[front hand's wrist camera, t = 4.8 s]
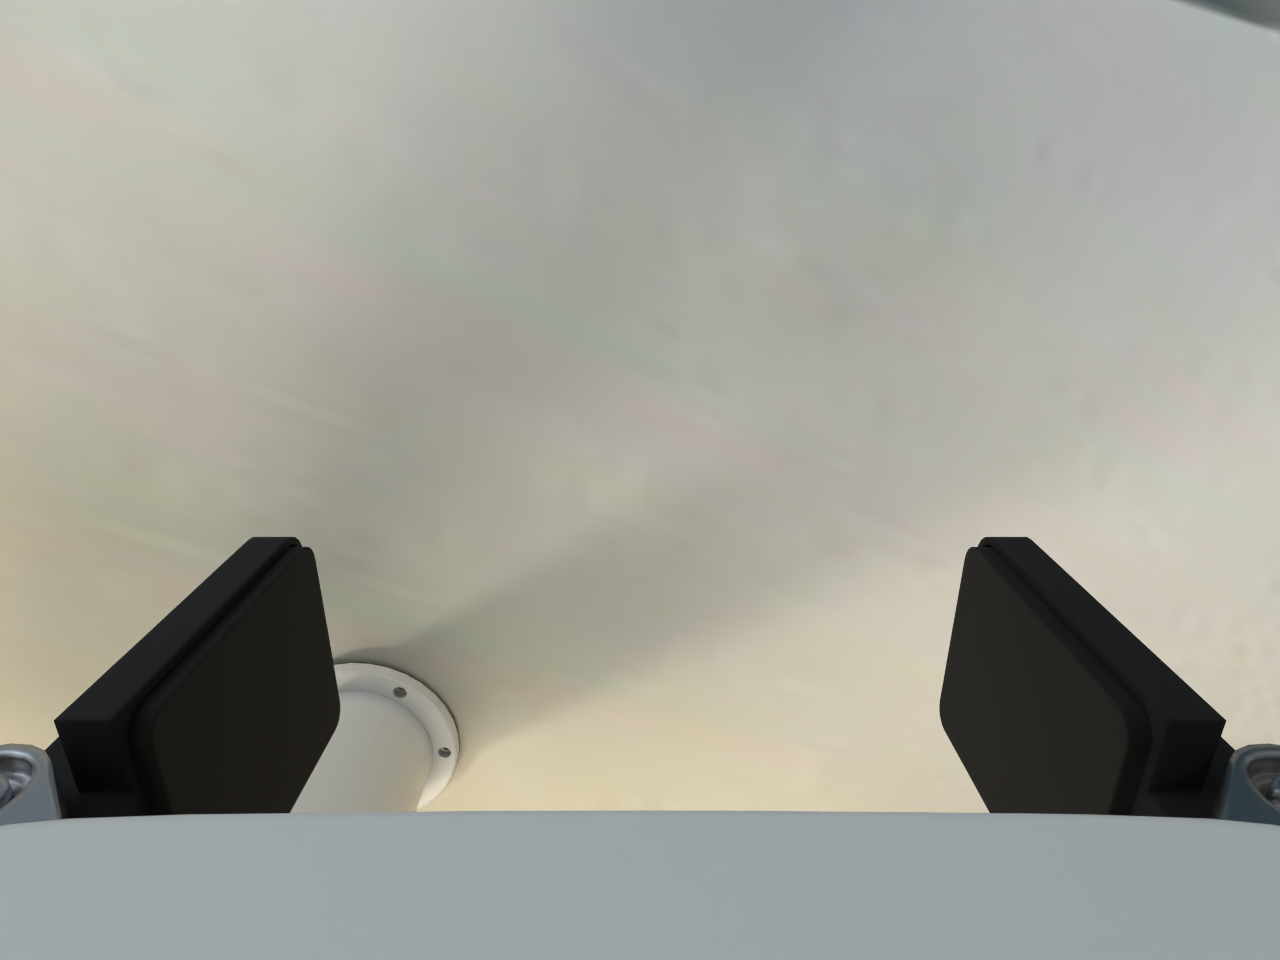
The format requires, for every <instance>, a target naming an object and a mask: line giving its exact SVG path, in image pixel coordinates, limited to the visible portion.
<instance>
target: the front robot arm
mask: <svg viewBox="0 0 1280 960" xmlns="http://www.w3.org/2000/svg"><path fill="white" fill-rule="evenodd" d="M940 717H941V722H942V726H943V728H944V730H945V732H946V734H947V736H948V737H949V739H950V741H951V743H952V745H953V747H954V748H955V750H956V752H957V754H958V756H959V757H960V759H961V761H962V763H963V765H964V767H965V768H966V770H967V772H968V774H969V776H970V777H971V779H972V781H973V783H974V785H975V787H976V788H977V790H978V792H979V794H980V796H981V797H982V799H983V801H984V803H985V805H986V807H987V808H988V810H989V812H990V813H915V812H804V811H450V812H416V810H418V809H421V808H423V807H425V806H426V805H428V804H429V803H430V802H432V801H433V800H435V799H436V798H437V797H438V796H439V795H440V794H441V793H442V791H443V790H444V789H445V788H446V787H447V785H448V783H449V781H450V779H451V778H452V776H453V773H454V770H455V767H456V763H457V760H458V753H459V740H458V732H457V729H456V726H455V723H454V720H453V718H452V717H451V715H450V713H449V711H448V710H447V708H446V706H445V705H444V704H443V703H442V702H441V701H440V699H439V698H438V697H437V696H436V695H435V694H434V693H433V692H432V691H430V690H429V689H428V688H427V687H425V686H424V685H423V684H422V683H420V682H419V681H417V680H415V679H413V678H411V677H410V676H408V675H406V674H404V673H401V672H398V671H396V670H393V669H390V668H388V667H383V666H378V665H373V664H364V663H346V664H337V665H334V664H333V658H332V652H331V647H330V641H329V635H328V630H327V624H326V618H325V612H324V607H323V601H322V595H321V590H320V584H319V578H318V572H317V567H316V561H315V557H314V553H313V551H312V549H310V548H309V547H302V545H301V543H300V541H299V540H298V539H297V538H295V537H253V538H251V539H249V540H248V541H247V542H246V543H245V544H244V545H242V546H241V547H240V548H239V549H238V550H237V551H236V552H235V553H234V554H233V555H232V556H231V557H230V558H228V559H227V560H226V561H225V562H224V563H223V564H222V565H221V566H220V567H219V568H218V569H217V570H216V571H214V572H213V573H212V574H211V575H210V576H209V577H208V578H207V579H206V580H205V581H204V582H203V583H202V584H200V585H199V586H198V587H197V588H196V589H195V590H194V591H193V592H192V593H191V594H190V595H189V596H188V597H186V598H185V599H184V600H183V601H182V602H181V603H180V604H179V605H178V606H177V607H176V608H175V609H174V610H172V611H171V612H170V613H169V614H168V615H167V616H166V617H165V618H164V619H163V620H162V621H161V622H160V623H158V624H157V625H156V626H155V627H154V628H153V629H152V630H151V631H150V632H149V633H148V634H147V635H146V636H144V637H143V638H142V639H141V640H140V641H139V642H138V643H137V644H136V645H135V646H134V647H133V648H132V649H130V650H129V651H128V652H127V653H126V654H125V655H124V656H123V657H122V658H121V659H120V660H119V661H117V662H116V663H115V664H114V665H113V666H112V667H111V668H110V669H109V670H108V671H107V672H106V673H105V674H103V675H102V676H101V677H100V678H99V679H98V680H97V681H96V682H95V683H94V684H93V685H92V686H91V687H89V688H88V689H87V690H86V691H85V692H84V693H83V694H82V695H81V696H80V697H79V698H78V699H77V700H75V701H74V702H73V703H72V704H71V705H70V706H69V707H68V708H67V709H66V710H65V711H64V712H63V713H61V714H60V715H59V716H58V717H57V718H56V719H55V720H54V723H55V726H56V728H57V731H58V734H59V737H58V738H57V739H56V740H55V741H54V742H53V743H52V744H51V745H50V746H49V747H48V748H47V749H46V750H42V749H40V748H38V747H35V746H33V745H26V744H5V745H0V960H1280V745H1275V744H1254V745H1247V746H1245V747H1242V748H1240V749H1238V750H1234V749H1233V748H1232V747H1231V746H1230V745H1229V744H1228V743H1227V742H1226V741H1225V740H1224V739H1223V738H1222V737H1221V734H1222V731H1223V728H1224V726H1225V723H1226V720H1225V719H1224V718H1223V717H1222V716H1221V715H1220V714H1219V713H1217V712H1216V711H1215V710H1214V709H1213V708H1212V707H1211V706H1210V705H1209V704H1208V703H1207V702H1206V701H1205V700H1203V699H1202V698H1201V697H1200V696H1199V695H1198V694H1197V693H1196V692H1195V691H1194V690H1193V689H1192V688H1191V687H1189V686H1188V685H1187V684H1186V683H1185V682H1184V681H1183V680H1182V679H1181V678H1180V677H1179V676H1178V675H1177V674H1175V673H1174V672H1173V671H1172V670H1171V669H1170V668H1169V667H1168V666H1167V665H1166V664H1165V663H1164V662H1163V661H1161V660H1160V659H1159V658H1158V657H1157V656H1156V655H1155V654H1154V653H1153V652H1152V651H1151V650H1150V649H1148V648H1147V647H1146V646H1145V645H1144V644H1143V643H1142V642H1141V641H1140V640H1139V639H1138V638H1137V637H1136V636H1134V635H1133V634H1132V633H1131V632H1130V631H1129V630H1128V629H1127V628H1126V627H1125V626H1124V625H1123V624H1122V623H1120V622H1119V621H1118V620H1117V619H1116V618H1115V617H1114V616H1113V615H1112V614H1111V613H1110V612H1109V611H1108V610H1106V609H1105V608H1104V607H1103V606H1102V605H1101V604H1100V603H1099V602H1098V601H1097V600H1096V599H1095V598H1094V597H1092V596H1091V595H1090V594H1089V593H1088V592H1087V591H1086V590H1085V589H1084V588H1083V587H1082V586H1081V585H1080V584H1078V583H1077V582H1076V581H1075V580H1074V579H1073V578H1072V577H1071V576H1070V575H1069V574H1068V573H1067V572H1066V571H1064V570H1063V569H1062V568H1061V567H1060V566H1059V565H1058V564H1057V563H1056V562H1055V561H1054V560H1053V559H1052V558H1050V557H1049V556H1048V555H1047V554H1046V553H1045V552H1044V551H1043V550H1042V549H1041V548H1040V547H1039V546H1038V545H1036V544H1035V543H1034V542H1033V541H1032V540H1031V539H1029V538H1027V537H985V538H983V539H982V540H981V541H980V543H979V545H978V547H971V548H970V549H968V551H967V553H966V557H965V561H964V567H963V572H962V578H961V584H960V590H959V595H958V601H957V607H956V612H955V618H954V624H953V630H952V635H951V641H950V647H949V652H948V658H947V664H946V669H945V675H944V681H943V687H942V692H941V698H940Z"/></svg>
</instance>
